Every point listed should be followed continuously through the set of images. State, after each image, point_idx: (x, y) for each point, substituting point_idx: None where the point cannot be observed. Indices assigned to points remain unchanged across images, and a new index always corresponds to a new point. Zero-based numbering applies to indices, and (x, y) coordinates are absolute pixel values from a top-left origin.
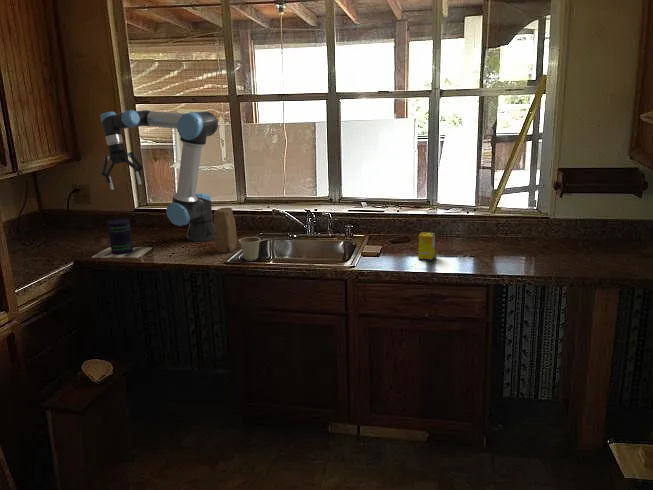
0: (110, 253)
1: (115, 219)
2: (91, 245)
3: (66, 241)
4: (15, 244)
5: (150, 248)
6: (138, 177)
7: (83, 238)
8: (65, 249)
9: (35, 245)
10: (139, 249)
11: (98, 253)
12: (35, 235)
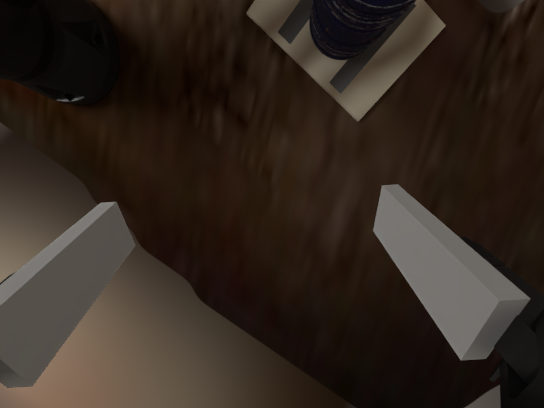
0: None
1: (387, 7)
2: None
3: None
4: None
5: (253, 2)
6: (60, 248)
7: (374, 287)
8: (458, 198)
9: None
10: (288, 14)
11: (413, 55)
12: (453, 385)
